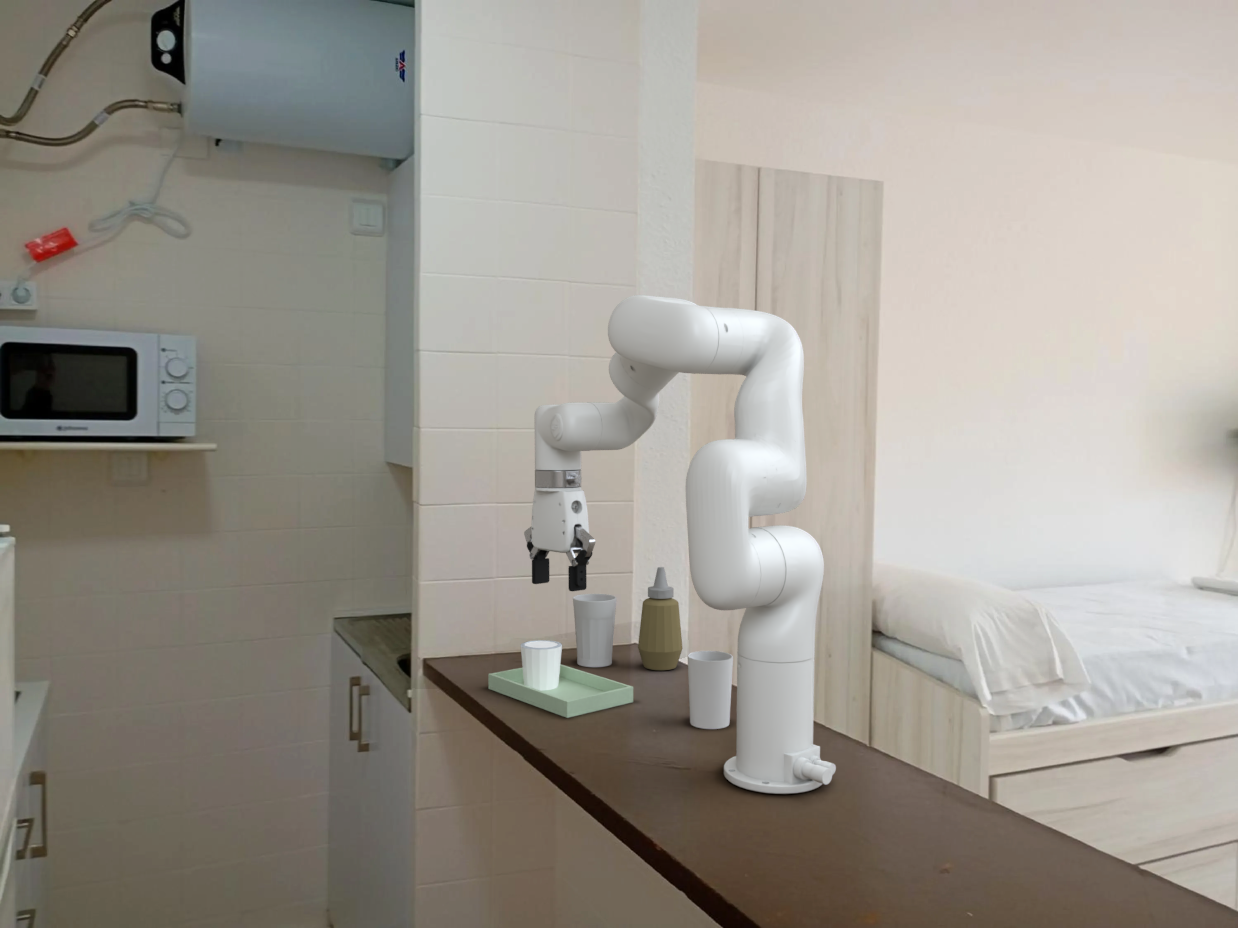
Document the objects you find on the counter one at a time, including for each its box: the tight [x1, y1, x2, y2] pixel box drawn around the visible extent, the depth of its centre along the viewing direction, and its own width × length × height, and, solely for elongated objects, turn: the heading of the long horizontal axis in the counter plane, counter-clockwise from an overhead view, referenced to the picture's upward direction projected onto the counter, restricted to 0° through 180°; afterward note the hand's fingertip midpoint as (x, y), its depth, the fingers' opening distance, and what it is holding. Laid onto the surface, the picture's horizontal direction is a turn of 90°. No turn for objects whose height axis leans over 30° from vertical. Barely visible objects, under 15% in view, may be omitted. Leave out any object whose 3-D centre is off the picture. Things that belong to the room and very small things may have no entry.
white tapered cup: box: [520, 639, 563, 691], centre depth 170 cm, size 7×7×7 cm
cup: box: [572, 593, 618, 668], centre depth 188 cm, size 8×8×12 cm
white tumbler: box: [687, 650, 734, 730], centre depth 152 cm, size 7×7×10 cm
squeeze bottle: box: [637, 566, 683, 671], centre depth 184 cm, size 8×8×18 cm
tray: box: [487, 663, 634, 719], centre depth 166 cm, size 21×13×2 cm, turn 41°
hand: (558, 586), depth 167 cm, fingers open, 9 cm apart
